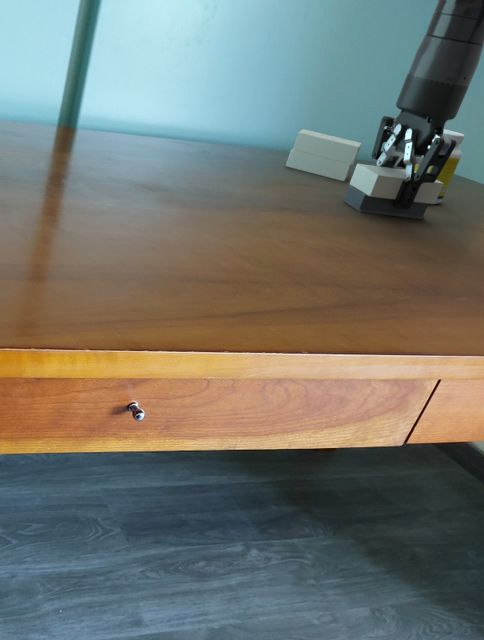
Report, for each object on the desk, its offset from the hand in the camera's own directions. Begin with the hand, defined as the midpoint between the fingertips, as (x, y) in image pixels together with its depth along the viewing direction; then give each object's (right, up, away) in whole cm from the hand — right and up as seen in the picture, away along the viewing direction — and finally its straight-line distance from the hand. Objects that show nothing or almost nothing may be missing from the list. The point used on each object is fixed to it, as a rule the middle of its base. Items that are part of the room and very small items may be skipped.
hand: (388, 200), depth 103 cm
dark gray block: (-1, -3, +1) cm, 3 cm away
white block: (0, +1, -1) cm, 1 cm away
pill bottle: (+14, +4, +18) cm, 23 cm away
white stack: (0, +10, +24) cm, 26 cm away
